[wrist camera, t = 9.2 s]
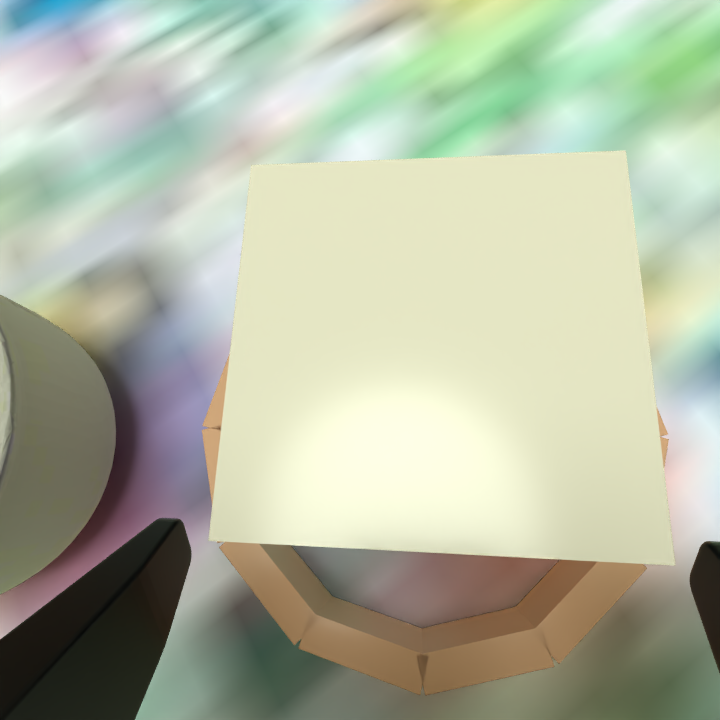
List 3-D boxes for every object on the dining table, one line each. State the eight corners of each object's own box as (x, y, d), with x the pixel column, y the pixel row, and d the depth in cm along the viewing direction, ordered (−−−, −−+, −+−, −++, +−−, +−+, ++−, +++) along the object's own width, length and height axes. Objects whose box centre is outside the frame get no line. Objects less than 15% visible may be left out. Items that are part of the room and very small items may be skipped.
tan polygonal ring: (688, 602, 16) (746, 623, 13) (273, 696, 17) (243, 736, 14) (545, 232, 20) (566, 188, 17) (215, 318, 21) (182, 289, 18)
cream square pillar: (499, 522, 18) (675, 565, 6) (347, 515, 18) (208, 540, 6) (494, 372, 19) (625, 150, 7) (353, 371, 20) (250, 165, 8)
